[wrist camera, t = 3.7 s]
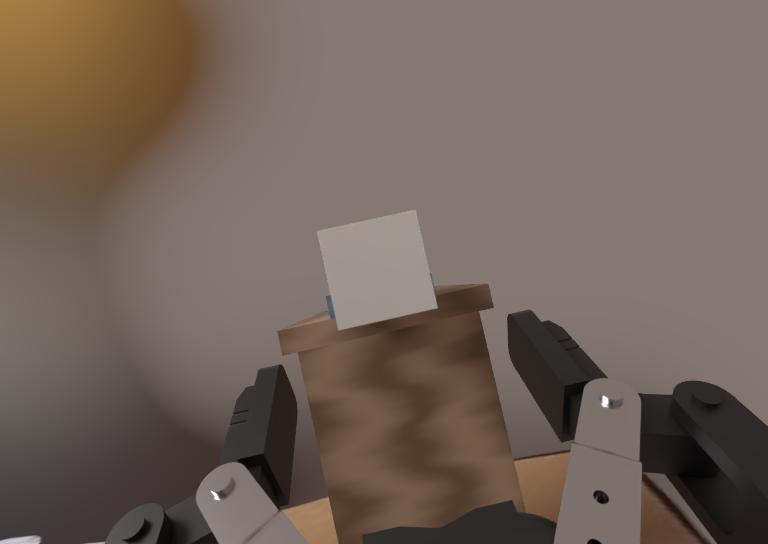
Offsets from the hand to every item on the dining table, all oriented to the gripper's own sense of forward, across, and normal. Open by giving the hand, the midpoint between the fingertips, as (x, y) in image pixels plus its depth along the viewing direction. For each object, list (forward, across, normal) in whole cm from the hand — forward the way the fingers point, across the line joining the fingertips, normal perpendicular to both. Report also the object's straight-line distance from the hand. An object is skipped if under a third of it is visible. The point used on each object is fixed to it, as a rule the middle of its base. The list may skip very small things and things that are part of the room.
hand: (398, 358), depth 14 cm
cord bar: (+13, 0, +6) cm, 15 cm away
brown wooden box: (+3, 0, +37) cm, 38 cm away
